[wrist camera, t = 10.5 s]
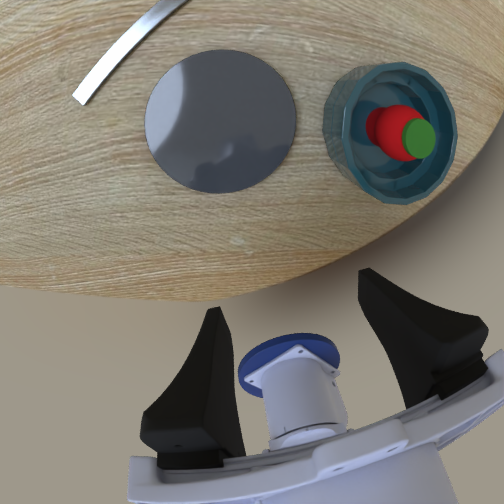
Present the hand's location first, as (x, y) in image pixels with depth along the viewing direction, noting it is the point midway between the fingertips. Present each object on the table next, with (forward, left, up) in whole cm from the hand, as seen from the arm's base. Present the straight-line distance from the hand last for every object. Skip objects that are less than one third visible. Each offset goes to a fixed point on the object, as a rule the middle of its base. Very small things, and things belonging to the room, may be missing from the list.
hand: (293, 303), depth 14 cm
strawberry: (0, -12, -9) cm, 15 cm away
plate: (+8, -3, -9) cm, 13 cm away
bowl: (0, -12, -9) cm, 15 cm away
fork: (+17, -7, -9) cm, 21 cm away
